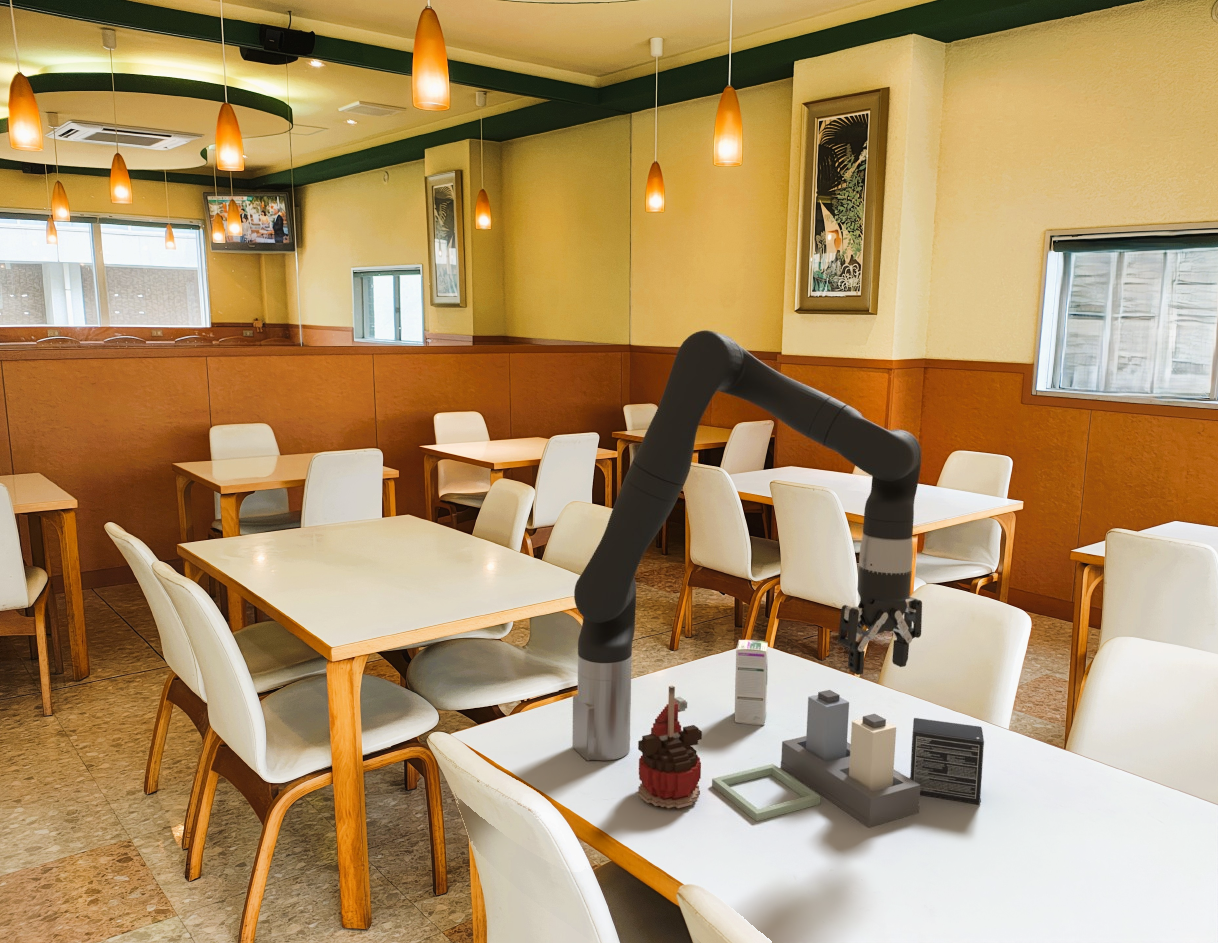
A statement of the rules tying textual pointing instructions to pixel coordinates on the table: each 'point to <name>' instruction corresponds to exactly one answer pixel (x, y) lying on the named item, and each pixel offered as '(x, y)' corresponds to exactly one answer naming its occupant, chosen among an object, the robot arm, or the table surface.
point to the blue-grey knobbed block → (827, 725)
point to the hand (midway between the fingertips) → (877, 669)
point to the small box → (947, 760)
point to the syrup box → (751, 682)
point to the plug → (872, 752)
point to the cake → (670, 759)
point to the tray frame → (771, 811)
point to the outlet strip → (850, 785)
